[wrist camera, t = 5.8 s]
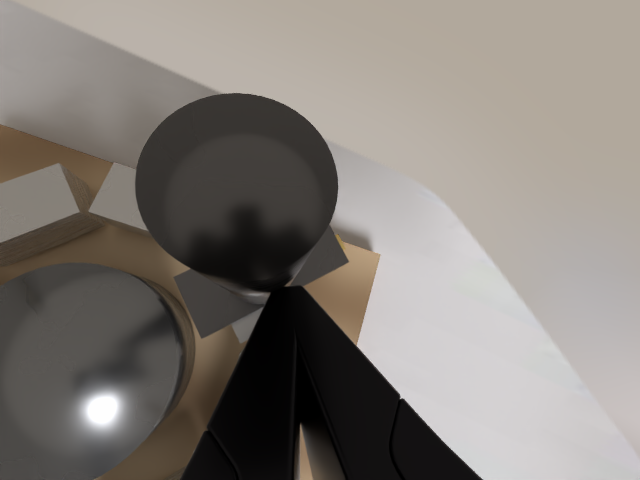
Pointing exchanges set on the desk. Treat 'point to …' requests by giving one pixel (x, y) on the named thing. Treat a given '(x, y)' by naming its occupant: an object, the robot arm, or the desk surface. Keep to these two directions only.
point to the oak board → (157, 265)
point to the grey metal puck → (86, 368)
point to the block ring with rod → (202, 206)
